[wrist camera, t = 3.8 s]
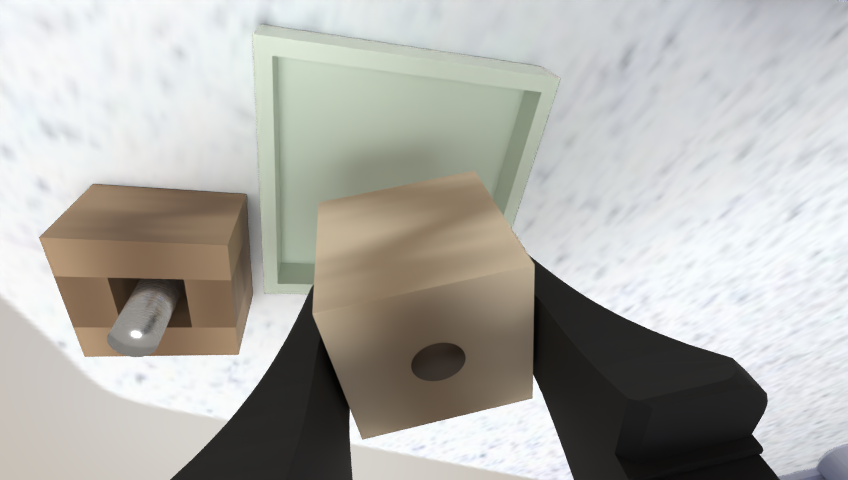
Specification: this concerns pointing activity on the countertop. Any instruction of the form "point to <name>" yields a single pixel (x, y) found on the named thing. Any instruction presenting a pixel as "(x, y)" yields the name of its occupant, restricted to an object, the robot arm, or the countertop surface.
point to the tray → (380, 130)
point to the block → (423, 303)
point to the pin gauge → (145, 317)
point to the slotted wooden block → (154, 264)
